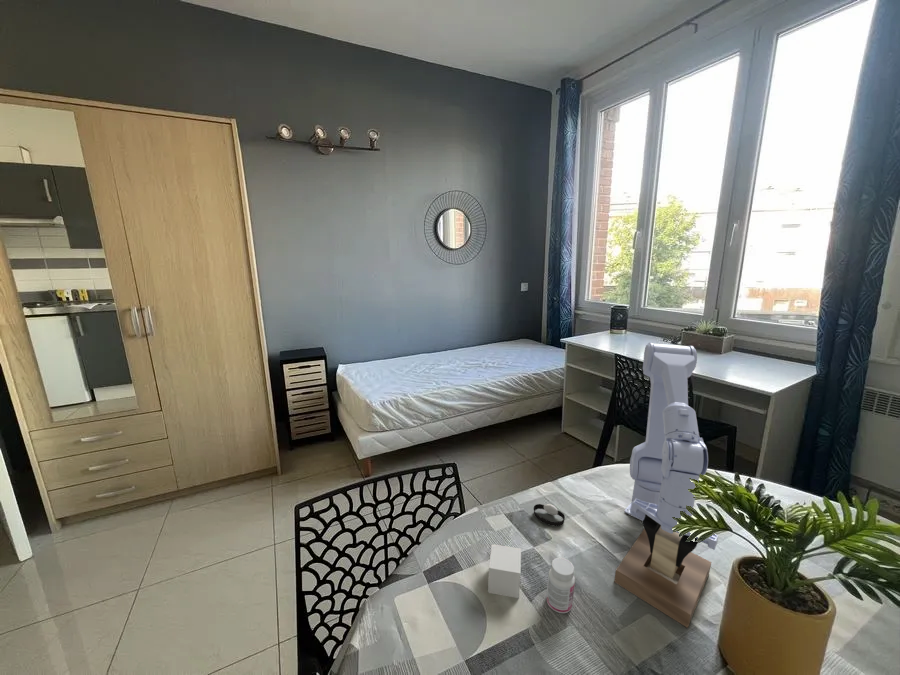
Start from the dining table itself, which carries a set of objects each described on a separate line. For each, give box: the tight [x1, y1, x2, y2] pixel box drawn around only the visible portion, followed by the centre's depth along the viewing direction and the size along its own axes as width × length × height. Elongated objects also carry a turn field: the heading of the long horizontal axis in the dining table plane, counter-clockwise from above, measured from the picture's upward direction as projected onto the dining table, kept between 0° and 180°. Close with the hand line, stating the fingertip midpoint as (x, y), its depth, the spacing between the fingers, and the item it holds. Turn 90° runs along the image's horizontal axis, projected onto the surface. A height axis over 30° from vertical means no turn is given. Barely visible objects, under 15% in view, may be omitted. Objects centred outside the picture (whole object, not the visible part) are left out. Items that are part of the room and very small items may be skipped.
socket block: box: [613, 528, 712, 629], centre depth 76 cm, size 16×13×3 cm
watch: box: [533, 503, 566, 527], centre depth 92 cm, size 8×5×4 cm, turn 58°
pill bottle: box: [545, 557, 576, 614], centre depth 70 cm, size 5×5×8 cm
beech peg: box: [650, 526, 682, 579], centre depth 74 cm, size 4×4×8 cm
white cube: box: [487, 543, 522, 599], centre depth 74 cm, size 6×6×6 cm
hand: (665, 557), depth 75 cm, fingers closed on beech peg, 4 cm apart
